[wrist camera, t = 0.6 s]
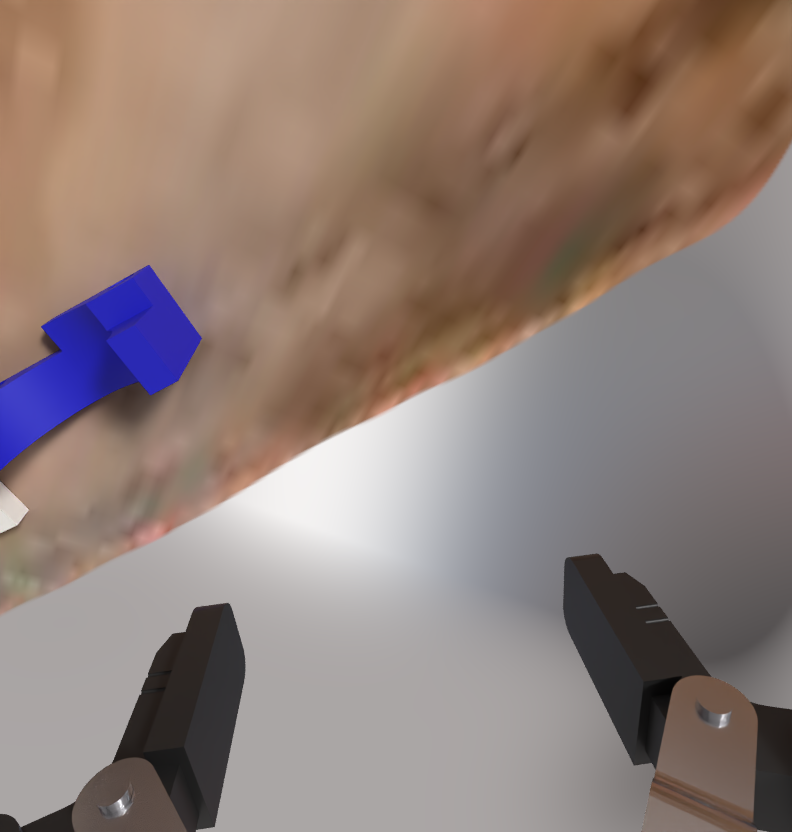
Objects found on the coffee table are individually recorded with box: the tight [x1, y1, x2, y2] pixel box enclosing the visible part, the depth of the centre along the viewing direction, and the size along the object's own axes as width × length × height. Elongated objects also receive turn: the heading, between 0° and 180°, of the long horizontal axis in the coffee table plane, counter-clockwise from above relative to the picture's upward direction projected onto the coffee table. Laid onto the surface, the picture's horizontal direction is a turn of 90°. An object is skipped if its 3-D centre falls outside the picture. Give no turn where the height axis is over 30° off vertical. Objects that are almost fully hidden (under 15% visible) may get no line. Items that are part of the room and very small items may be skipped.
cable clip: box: [0, 265, 202, 470], centre depth 27 cm, size 12×4×6 cm, turn 116°
